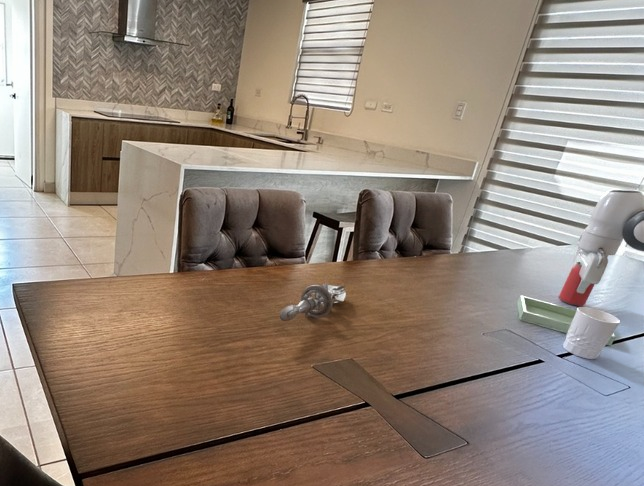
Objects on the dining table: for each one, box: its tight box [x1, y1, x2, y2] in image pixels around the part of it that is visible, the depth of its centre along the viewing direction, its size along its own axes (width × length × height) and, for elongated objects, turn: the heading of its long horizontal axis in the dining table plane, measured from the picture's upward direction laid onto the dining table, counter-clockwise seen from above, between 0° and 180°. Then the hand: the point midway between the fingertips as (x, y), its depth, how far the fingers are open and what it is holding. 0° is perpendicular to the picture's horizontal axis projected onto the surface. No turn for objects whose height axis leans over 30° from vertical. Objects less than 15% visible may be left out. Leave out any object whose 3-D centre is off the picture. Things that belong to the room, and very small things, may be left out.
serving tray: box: [516, 294, 616, 347], centre depth 126 cm, size 20×14×3 cm
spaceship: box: [279, 282, 347, 322], centre depth 111 cm, size 8×35×8 cm
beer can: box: [558, 262, 596, 307], centre depth 140 cm, size 7×7×12 cm
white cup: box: [562, 306, 621, 360], centre depth 110 cm, size 8×8×10 cm
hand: (577, 288), depth 140 cm, fingers closed on beer can, 6 cm apart
